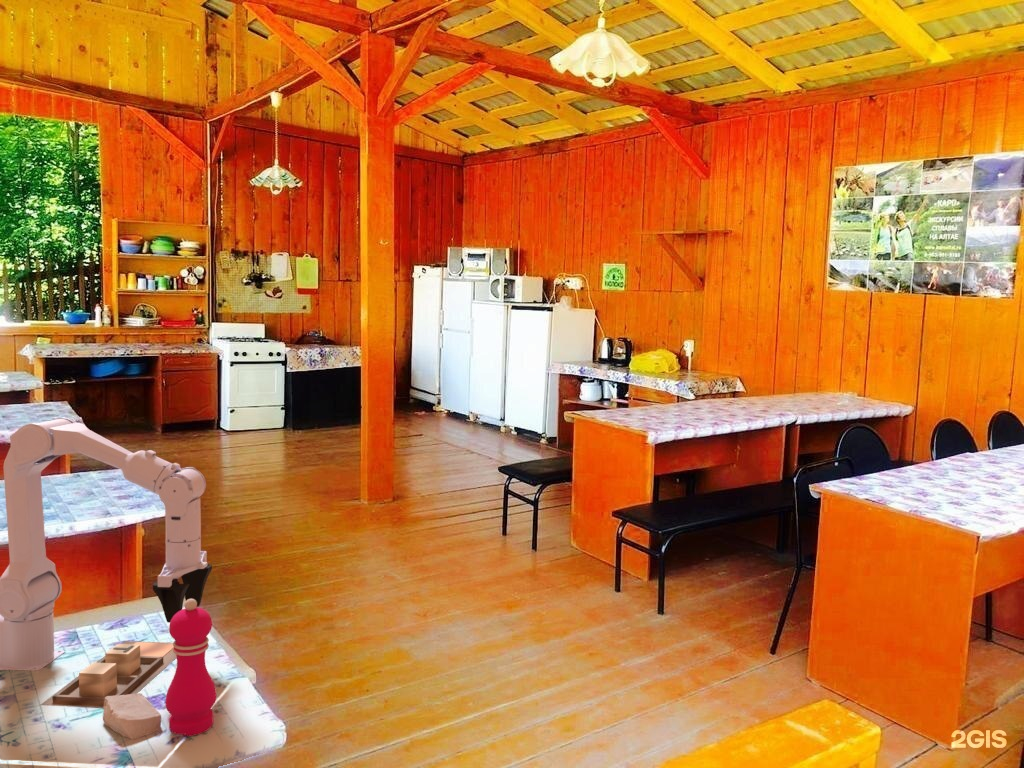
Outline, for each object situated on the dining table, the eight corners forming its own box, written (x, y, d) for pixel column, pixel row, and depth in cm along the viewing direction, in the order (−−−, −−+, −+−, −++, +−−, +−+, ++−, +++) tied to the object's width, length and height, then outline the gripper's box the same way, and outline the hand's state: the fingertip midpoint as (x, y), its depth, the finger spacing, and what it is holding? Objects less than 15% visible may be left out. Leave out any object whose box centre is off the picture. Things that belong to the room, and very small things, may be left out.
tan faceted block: (153, 756, 117) (168, 723, 116) (109, 760, 112) (124, 726, 112) (135, 712, 124) (149, 680, 123) (94, 714, 119) (108, 681, 119)
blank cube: (79, 696, 126) (78, 673, 125) (93, 685, 130) (93, 662, 129) (103, 697, 125) (103, 674, 125) (116, 686, 129) (116, 663, 129)
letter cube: (105, 675, 133) (105, 652, 133) (118, 665, 137) (118, 643, 137) (128, 676, 133) (128, 653, 133) (140, 666, 137) (140, 644, 137)
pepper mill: (167, 743, 114) (166, 610, 112) (164, 720, 120) (163, 594, 118) (219, 732, 117) (219, 603, 115) (213, 710, 123) (213, 588, 122)
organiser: (40, 707, 123) (40, 698, 123) (124, 643, 148) (124, 635, 148) (120, 711, 122) (120, 702, 122) (191, 646, 147) (191, 638, 147)
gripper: (186, 551, 129) (187, 630, 130) (222, 528, 143) (222, 600, 144) (145, 549, 129) (145, 628, 130) (185, 527, 143) (185, 598, 144)
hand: (183, 613), depth 137 cm, fingers open, 7 cm apart
